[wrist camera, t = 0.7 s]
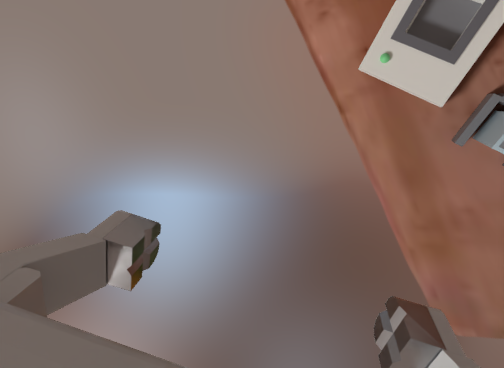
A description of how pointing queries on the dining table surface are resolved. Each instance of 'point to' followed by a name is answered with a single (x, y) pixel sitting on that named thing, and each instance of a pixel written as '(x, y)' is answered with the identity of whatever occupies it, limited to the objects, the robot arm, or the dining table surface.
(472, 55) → the block
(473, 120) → the holster
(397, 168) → the dining table surface
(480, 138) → the plug
